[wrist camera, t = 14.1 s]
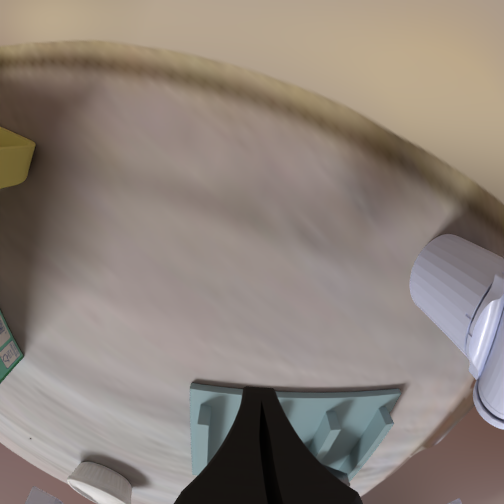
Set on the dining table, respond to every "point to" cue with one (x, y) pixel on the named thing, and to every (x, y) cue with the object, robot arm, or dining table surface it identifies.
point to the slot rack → (299, 423)
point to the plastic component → (14, 158)
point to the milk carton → (7, 350)
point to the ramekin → (100, 484)
